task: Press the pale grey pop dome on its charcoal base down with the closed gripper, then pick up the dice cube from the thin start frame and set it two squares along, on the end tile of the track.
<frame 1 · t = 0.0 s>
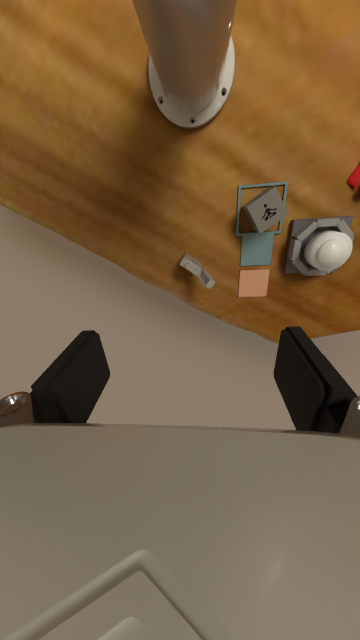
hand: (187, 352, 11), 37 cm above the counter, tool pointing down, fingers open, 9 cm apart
dome: (328, 251, 37), point 5 cm above the counter, slide at 0.0 cm
dice cube: (260, 210, 40), on the counter
lighter: (197, 265, 46), on the counter
dome base: (314, 246, 42), on the counter
track: (260, 210, 40), on the counter
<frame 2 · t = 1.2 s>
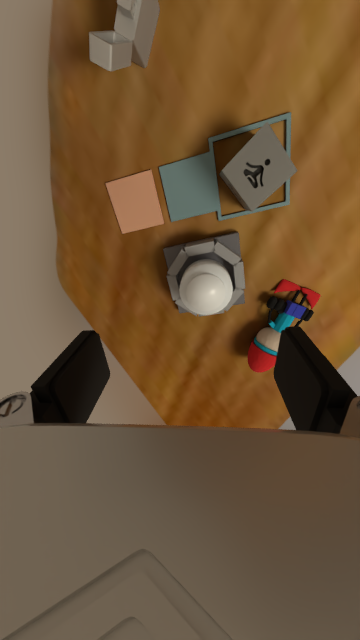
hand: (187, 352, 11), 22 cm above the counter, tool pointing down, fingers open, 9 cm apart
toy figure: (273, 325, 35), on the counter
dome: (205, 288, 27), point 5 cm above the counter, slide at 0.0 cm
dice cube: (249, 175, 25), on the counter
lighter: (140, 57, 21), on the counter
dome base: (205, 275, 31), on the counter
track: (250, 173, 25), on the counter
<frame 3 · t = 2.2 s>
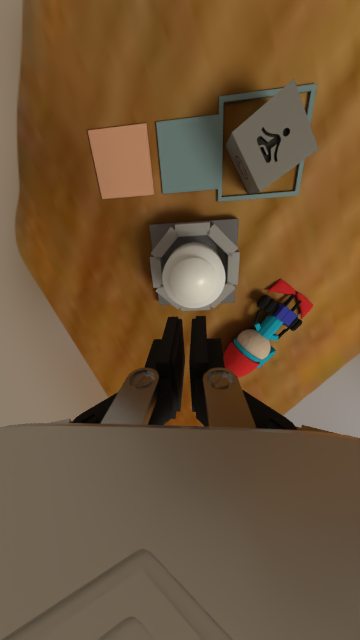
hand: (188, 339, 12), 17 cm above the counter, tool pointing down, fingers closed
toy figure: (257, 328, 31), on the counter
dome: (193, 276, 23), point 5 cm above the counter, slide at 0.0 cm
dice cube: (259, 154, 22), on the counter
dome base: (194, 264, 27), on the counter
track: (261, 150, 21), on the counter
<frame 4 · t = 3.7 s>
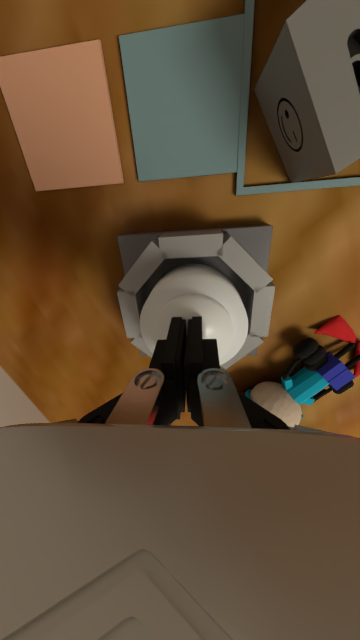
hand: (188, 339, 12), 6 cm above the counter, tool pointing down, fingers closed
toy figure: (280, 379, 21), on the counter
dome: (193, 321, 14), point 4 cm above the counter, slide at 1.3 cm, touching gripper
dice cube: (317, 106, 11), on the counter
dome base: (195, 297, 17), on the counter
track: (324, 93, 11), on the counter
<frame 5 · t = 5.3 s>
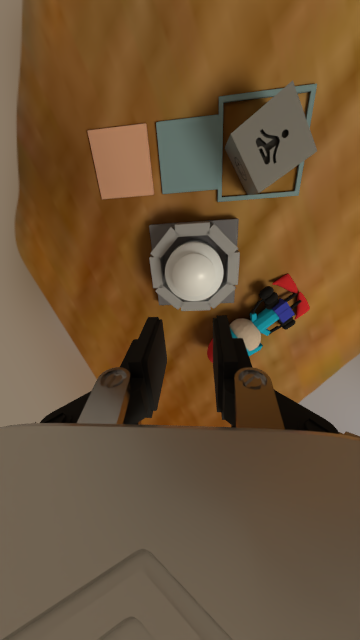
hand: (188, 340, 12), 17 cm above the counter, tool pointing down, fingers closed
toy figure: (250, 320, 31), on the counter
dome: (194, 271, 24), point 3 cm above the counter, slide at 1.9 cm
dice cube: (258, 155, 22), on the counter
dome base: (194, 264, 27), on the counter
track: (261, 150, 21), on the counter
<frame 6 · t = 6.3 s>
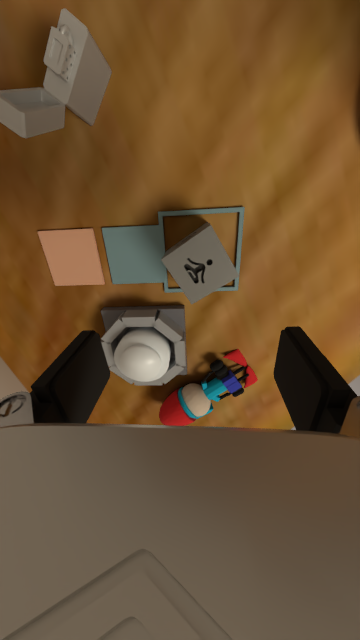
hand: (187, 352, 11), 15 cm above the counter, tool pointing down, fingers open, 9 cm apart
toy figure: (203, 383, 32), on the counter
dome: (143, 355, 26), point 3 cm above the counter, slide at 1.9 cm
dice cube: (199, 256, 23), on the counter
lighter: (86, 113, 18), on the counter
dome base: (148, 340, 28), on the counter
track: (200, 253, 23), on the counter
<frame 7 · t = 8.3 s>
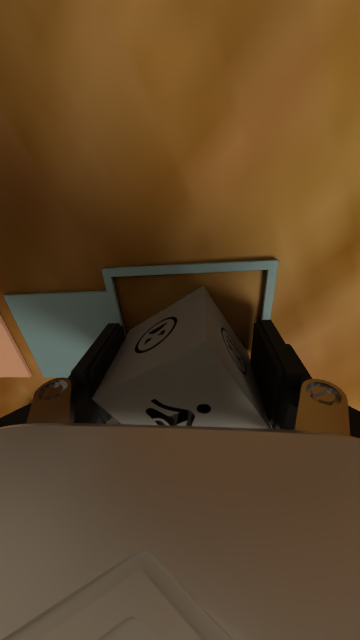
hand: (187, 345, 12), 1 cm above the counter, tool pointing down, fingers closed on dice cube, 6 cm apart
dice cube: (189, 339, 13), on the counter, touching gripper
track: (190, 336, 12), on the counter
when the fingers open (2 cm above the counter, at t = 13.3 s): dice cube stays where it is, resting on track.
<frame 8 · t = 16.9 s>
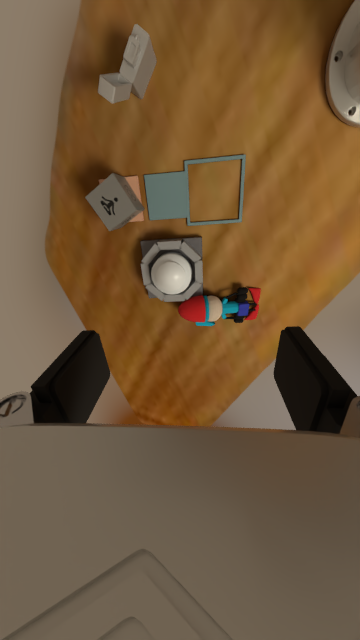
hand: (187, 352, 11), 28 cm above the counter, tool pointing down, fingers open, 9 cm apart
toy figure: (218, 303, 41), on the counter
dome: (171, 273, 35), point 3 cm above the counter, slide at 1.9 cm
dice cube: (123, 203, 33), resting on track
lighter: (138, 90, 27), on the counter
dome base: (173, 268, 38), on the counter
track: (214, 193, 32), on the counter
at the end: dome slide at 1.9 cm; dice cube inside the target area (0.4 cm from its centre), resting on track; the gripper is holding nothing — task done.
